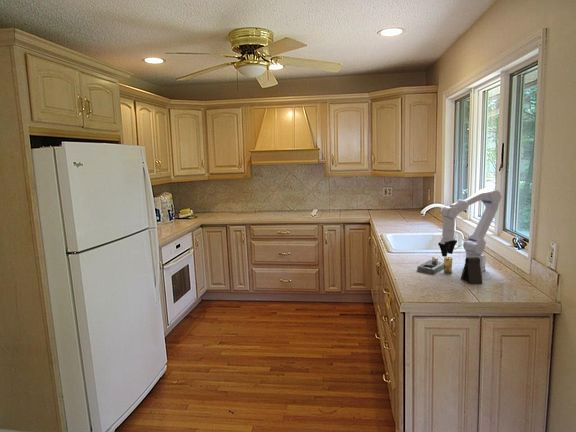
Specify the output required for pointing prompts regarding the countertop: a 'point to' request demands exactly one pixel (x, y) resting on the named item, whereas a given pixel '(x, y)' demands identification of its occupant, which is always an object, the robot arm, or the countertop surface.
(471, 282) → the phone stand
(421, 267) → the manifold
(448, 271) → the cylinder
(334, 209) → the countertop surface
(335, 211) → the countertop surface
